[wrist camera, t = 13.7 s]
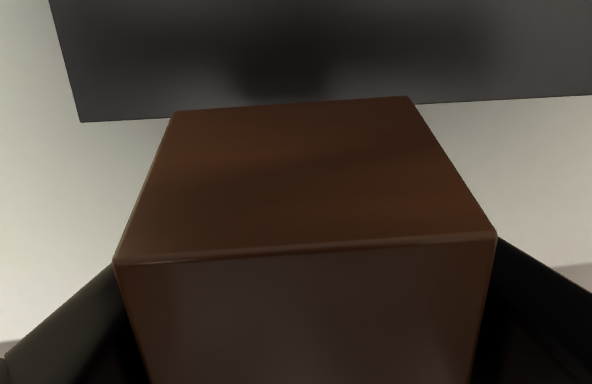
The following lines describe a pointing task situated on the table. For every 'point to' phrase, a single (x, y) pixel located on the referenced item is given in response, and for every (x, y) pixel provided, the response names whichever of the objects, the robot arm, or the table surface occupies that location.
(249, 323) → the block
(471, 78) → the laptop screen
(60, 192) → the table surface
